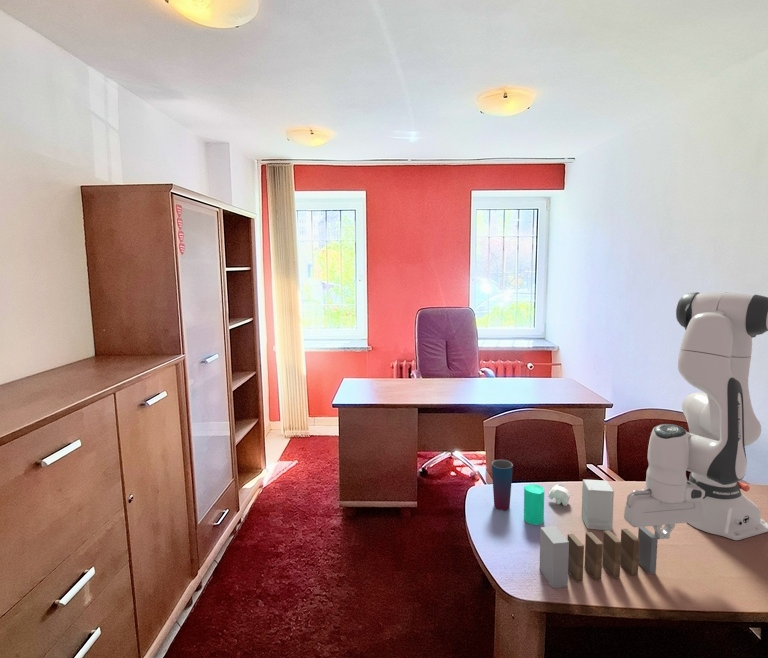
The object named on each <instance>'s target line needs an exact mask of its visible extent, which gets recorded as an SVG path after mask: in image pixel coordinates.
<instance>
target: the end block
mask: <svg viewBox="0 0 768 658" xmlns="http://www.w3.org/2000/svg"><path fill="white" fill-rule="evenodd" d="M539 537H540V538H539V571H540V572H541V574H542V575H543V577H544V578H545V580H546V581H547V582H548V584H549V585H550V587H551V588H552V589H555V588H565V587H569V586H568V585H569V583H568V582H569V572H568V558H569V541H568V538H566V537H565V535H563V533H562V532H561V531H560V530H559V528H558V527H557V526H556V525H550V526H541V527H540V535H539Z"/></svg>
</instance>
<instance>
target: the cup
mask: <svg viewBox="0 0 768 658" xmlns="http://www.w3.org/2000/svg"><path fill="white" fill-rule="evenodd" d="M513 468H514V464H513V463H512V462H511V461H509V460H507V459H495V460H492V461H491V473H492V474H491V475H492V477H491V478H492V492H493V493H492V494H493V507H494V508H495V509H497V510H499V511H508V510H509V509H510V507H511V495H512V494H511V493H512V481H513Z"/></svg>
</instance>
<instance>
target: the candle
mask: <svg viewBox="0 0 768 658" xmlns="http://www.w3.org/2000/svg"><path fill="white" fill-rule="evenodd" d="M523 491H524V492H523V519H524V521H525V522H526V523H528V524H530V525H534V526H535V525H542V524H544V521H545V489H544V487H543V486H541V485H539V484H535V483H533V484H527V485H524V488H523Z"/></svg>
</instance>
